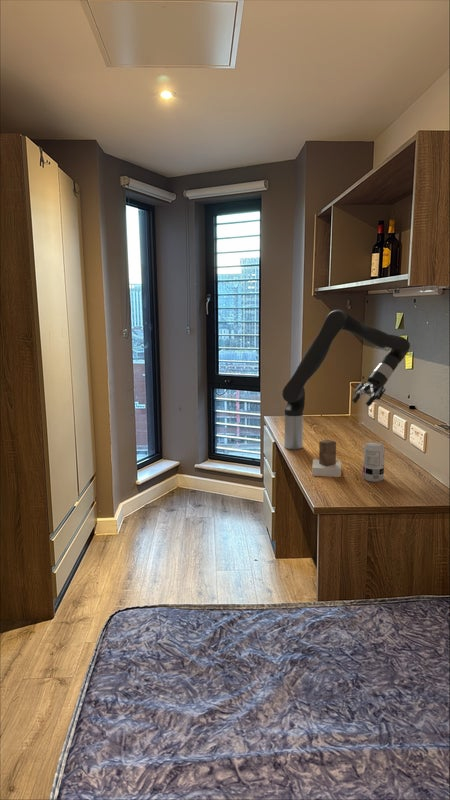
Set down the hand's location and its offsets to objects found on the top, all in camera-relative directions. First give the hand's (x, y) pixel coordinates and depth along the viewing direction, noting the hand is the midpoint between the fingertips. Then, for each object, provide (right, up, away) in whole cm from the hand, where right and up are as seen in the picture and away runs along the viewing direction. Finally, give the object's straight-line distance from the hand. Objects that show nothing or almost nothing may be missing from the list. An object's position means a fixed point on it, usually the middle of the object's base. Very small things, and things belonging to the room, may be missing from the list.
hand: (360, 403), depth 221 cm
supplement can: (+2, -32, -12) cm, 34 cm away
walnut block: (-15, -26, -3) cm, 30 cm away
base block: (-15, -30, -2) cm, 34 cm away
